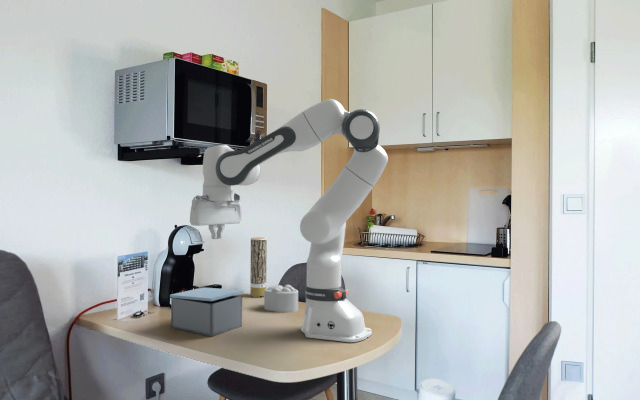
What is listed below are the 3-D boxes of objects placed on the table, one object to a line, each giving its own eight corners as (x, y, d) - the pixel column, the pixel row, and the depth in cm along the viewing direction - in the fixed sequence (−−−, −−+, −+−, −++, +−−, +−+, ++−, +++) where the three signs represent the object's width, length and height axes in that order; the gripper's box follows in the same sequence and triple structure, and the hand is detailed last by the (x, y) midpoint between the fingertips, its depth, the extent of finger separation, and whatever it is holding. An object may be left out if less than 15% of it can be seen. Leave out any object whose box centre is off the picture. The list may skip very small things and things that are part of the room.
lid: (243, 292, 151) (243, 290, 151) (211, 301, 139) (211, 298, 139) (203, 289, 160) (203, 287, 160) (169, 297, 148) (169, 294, 148)
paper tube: (247, 296, 196) (247, 238, 196) (255, 293, 203) (255, 237, 202) (261, 298, 194) (261, 239, 194) (269, 295, 200) (269, 237, 200)
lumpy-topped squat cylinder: (277, 304, 184) (278, 282, 184) (304, 308, 176) (304, 286, 176) (260, 309, 175) (260, 286, 175) (287, 314, 168) (288, 290, 168)
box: (241, 326, 151) (242, 296, 151) (211, 336, 139) (211, 304, 139) (202, 318, 160) (203, 290, 160) (171, 328, 148) (171, 297, 148)
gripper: (200, 195, 137) (199, 241, 137) (244, 196, 154) (244, 237, 154) (185, 195, 140) (184, 240, 140) (230, 196, 158) (230, 236, 158)
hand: (216, 238), depth 147 cm, fingers closed
